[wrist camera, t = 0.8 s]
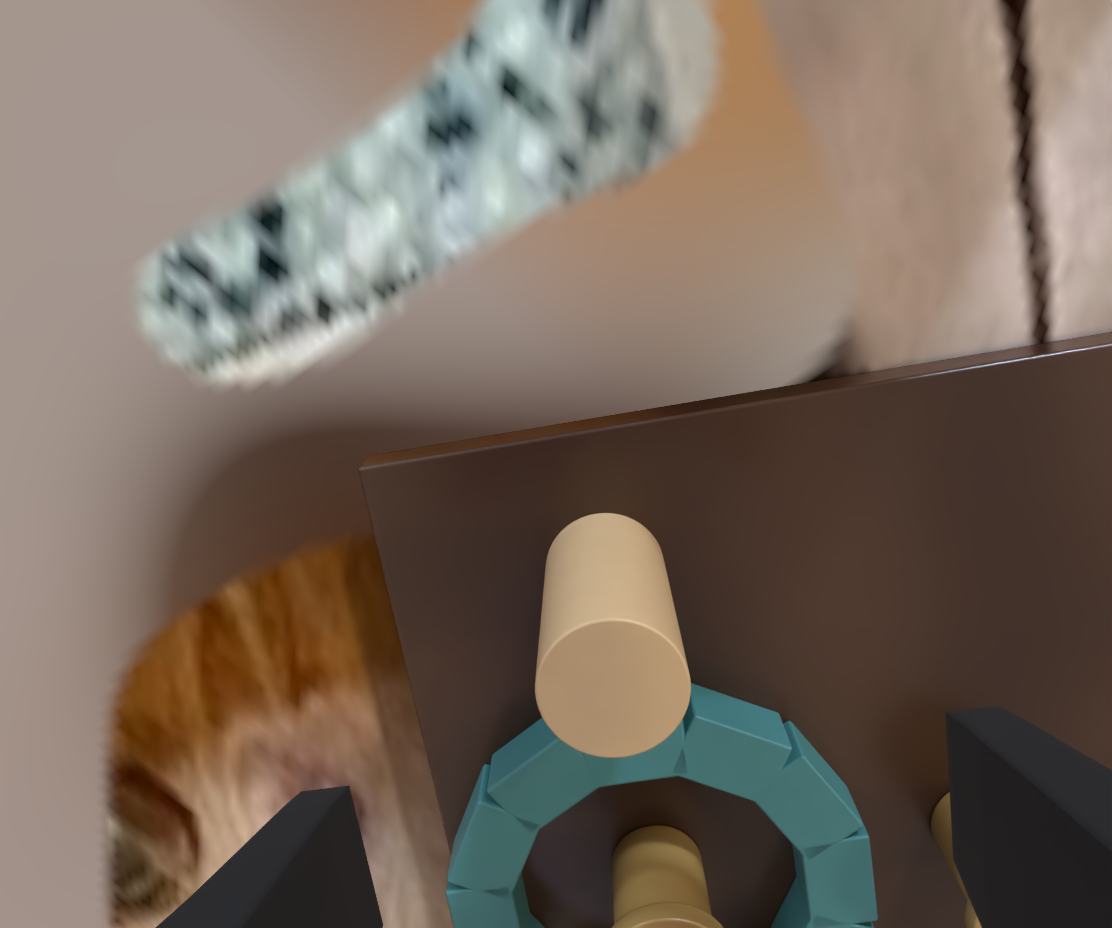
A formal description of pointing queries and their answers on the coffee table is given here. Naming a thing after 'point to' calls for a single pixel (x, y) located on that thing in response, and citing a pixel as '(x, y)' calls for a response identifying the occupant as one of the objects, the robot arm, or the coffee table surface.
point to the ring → (644, 741)
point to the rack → (778, 609)
